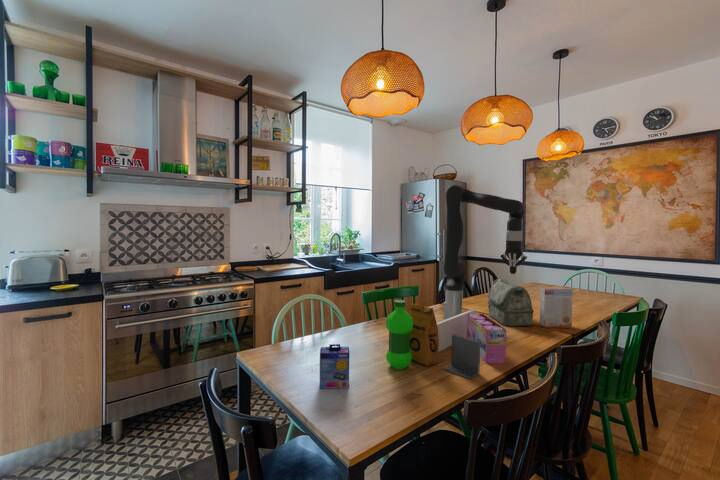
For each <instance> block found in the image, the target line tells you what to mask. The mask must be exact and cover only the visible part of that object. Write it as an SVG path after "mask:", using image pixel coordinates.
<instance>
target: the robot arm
mask: <svg viewBox="0 0 720 480" xmlns="http://www.w3.org/2000/svg"><path fill="white" fill-rule="evenodd" d="M445 200H446V201H445V202H446V204H445V205H446V223H445V224H446V225H445V256H444V263H443V264H444V265H443V272H444V275H445V276H446V277H447V278H448V281H447V282H446V284H445V301H444V302H443V320H446V319H448V318H451V317H453V316H456V315H459V314H461V313H463V299H464V298H463V292H464V291H463V289H464V284H465V276H466V275H465V274H466V272H465V271H466V269H465V265H464V263H463V262H461V261H460V260H459V254H460V248H461V245H462V243H463V240H464V224H463V223H464V222H463V219H462V215H461V203H467V204H473V205H477V206H480V207H483V208H485V209H490V210H495V211H501V212H504V213H507V214H508V219H507V221H506V222H507V223H506V233H505V234H506V235H505V251H504V253H503V254H500V258H501V260H502V261H503V262H504V263H505V265H507V266H509V273H510V275H515V274H516V273H517V267H520V266H522V264H523V263H524V262H525V261H526V260H527V259H528V256H526V255H524V252H523V218H524V210H525V205H524V204H523V202H521V201H520V200H517V199H511V198H506V197H501V196H497V195H494V194H489V193H480V192H475V191H472V190H469V189H466V188H464V187H462V186H461V185H458V184H457V185H456V184H452V185H450V186H448V188H447V189H446V192H445Z"/></svg>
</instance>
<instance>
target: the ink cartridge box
mask: <svg viewBox="0 0 720 480" xmlns="http://www.w3.org/2000/svg"><path fill="white" fill-rule="evenodd" d="M349 388H350V347H349V346H341V343H337V344H332V343H331V344H329V346H322V347H320V351H319V389H320V390H322V389H325V390H326V389H349Z"/></svg>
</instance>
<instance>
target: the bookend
mask: <svg viewBox="0 0 720 480" xmlns="http://www.w3.org/2000/svg"><path fill="white" fill-rule="evenodd" d="M450 361H451V362H450V363H451V364H449V365H447V366H445V367H444V370H443V371H446V372H449V373H451V374H454V375H457V376H460V377H463V378H465V379H469V380H470V379H471V380H473V379H474V378H476V377H477V376H478V375H480V371H481V369H480V368H481V365H480V363H481V358H480V341H478V340H474V339H470V338H466V337H463V336H459V335H455V334H453V335H452V345H451V359H450Z"/></svg>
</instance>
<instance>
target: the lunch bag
mask: <svg viewBox="0 0 720 480" xmlns="http://www.w3.org/2000/svg"><path fill="white" fill-rule="evenodd" d="M487 297H488V299H487V305H488V307H487V308H488V316H489V317H491V319H494V321H497V323H500V324H502V325H504V326H509V327H520V326H525V327H526V326H527V327H529V326H533V325H534V309H533V304H532V299H531V296H530V294H529V293H528V291H527V289H526V288H525V287H524V286H520V285H517V284H514V283H512V282H509V280H507V279H504V278H499V279H495V280H493V282H492V283H491V287H490V290H489V292H488V295H487Z"/></svg>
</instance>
